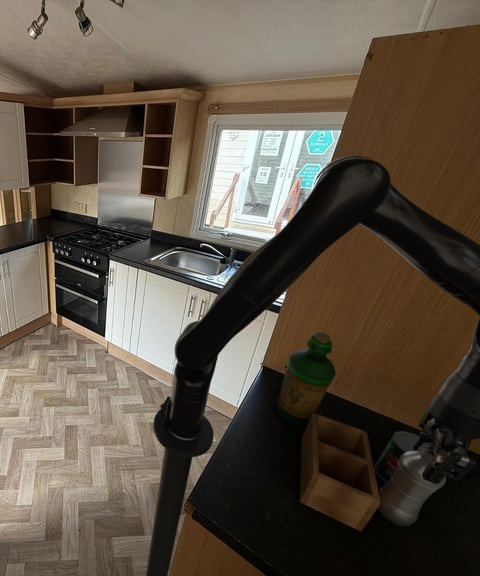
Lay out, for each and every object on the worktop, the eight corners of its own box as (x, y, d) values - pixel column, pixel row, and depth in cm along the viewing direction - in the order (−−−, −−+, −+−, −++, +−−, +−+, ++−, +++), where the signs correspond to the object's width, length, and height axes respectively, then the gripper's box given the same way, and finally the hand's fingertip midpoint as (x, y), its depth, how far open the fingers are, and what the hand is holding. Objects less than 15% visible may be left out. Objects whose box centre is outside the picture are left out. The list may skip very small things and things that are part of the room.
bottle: (278, 427, 88) (309, 346, 75) (267, 398, 97) (292, 322, 85) (320, 433, 86) (358, 351, 73) (304, 403, 95) (335, 326, 83)
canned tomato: (379, 484, 73) (399, 453, 68) (370, 456, 80) (388, 426, 75) (423, 499, 70) (448, 468, 65) (410, 469, 76) (432, 439, 72)
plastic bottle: (384, 527, 64) (431, 465, 55) (363, 494, 70) (403, 433, 61) (419, 532, 63) (472, 470, 54) (395, 498, 69) (440, 437, 60)
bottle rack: (299, 502, 70) (313, 474, 65) (301, 439, 84) (312, 412, 80) (361, 532, 64) (380, 503, 60) (351, 459, 79) (367, 431, 74)
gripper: (428, 369, 60) (391, 430, 67) (455, 422, 49) (407, 487, 56) (485, 384, 56) (439, 446, 64) (527, 444, 45) (466, 511, 53)
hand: (424, 465), depth 60 cm, fingers closed on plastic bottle, 6 cm apart
